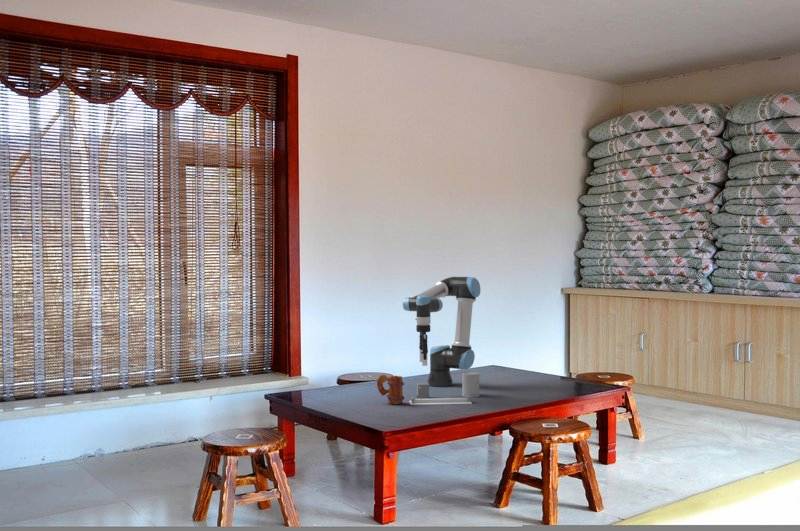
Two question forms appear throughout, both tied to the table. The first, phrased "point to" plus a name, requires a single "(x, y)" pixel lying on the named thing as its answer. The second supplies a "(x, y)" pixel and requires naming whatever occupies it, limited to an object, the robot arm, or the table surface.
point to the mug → (391, 388)
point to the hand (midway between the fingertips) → (423, 363)
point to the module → (423, 390)
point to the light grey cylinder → (470, 384)
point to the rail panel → (440, 401)
